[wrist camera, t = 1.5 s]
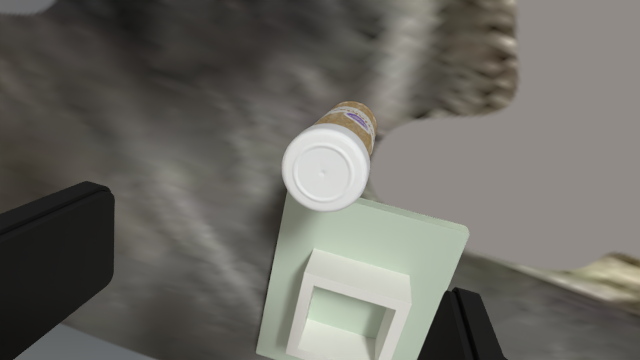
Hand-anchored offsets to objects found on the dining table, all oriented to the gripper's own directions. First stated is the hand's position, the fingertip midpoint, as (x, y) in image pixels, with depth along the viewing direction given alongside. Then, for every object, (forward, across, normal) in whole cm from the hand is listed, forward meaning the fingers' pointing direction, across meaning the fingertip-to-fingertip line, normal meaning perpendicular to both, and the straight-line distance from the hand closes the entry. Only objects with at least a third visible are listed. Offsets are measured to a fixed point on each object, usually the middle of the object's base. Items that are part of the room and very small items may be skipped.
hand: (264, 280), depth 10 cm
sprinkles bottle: (+23, 0, 0) cm, 23 cm away
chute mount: (+23, -4, +16) cm, 28 cm away
